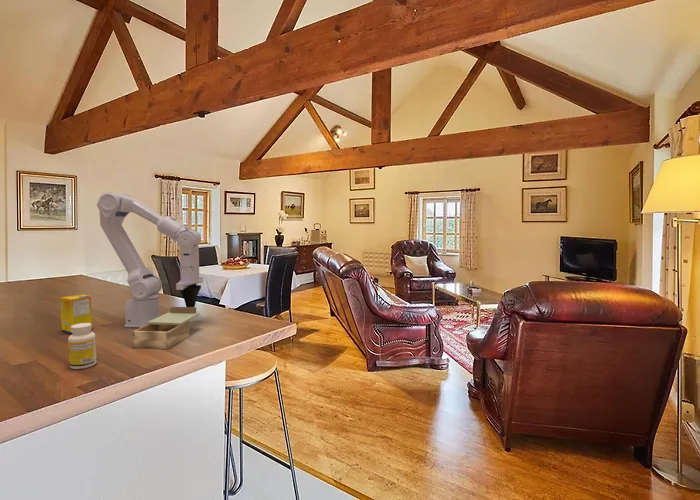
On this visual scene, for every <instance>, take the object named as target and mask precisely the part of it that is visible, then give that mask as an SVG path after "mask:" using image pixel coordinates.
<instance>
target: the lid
mask: <svg viewBox="0 0 700 500" xmlns="http://www.w3.org/2000/svg"><path fill="white" fill-rule="evenodd" d="M198 316H200V312H197V306H195V307H186V306H170V308H169V311H168V312H166V313H164V314H162V315H159V317H157V318H155V319H153V320H151V321H148V322H147V324H162V325H182V324H184V323H186V322H188V321H189V322H190V321H191V320H193V319H195V318H197V317H198Z"/></svg>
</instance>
